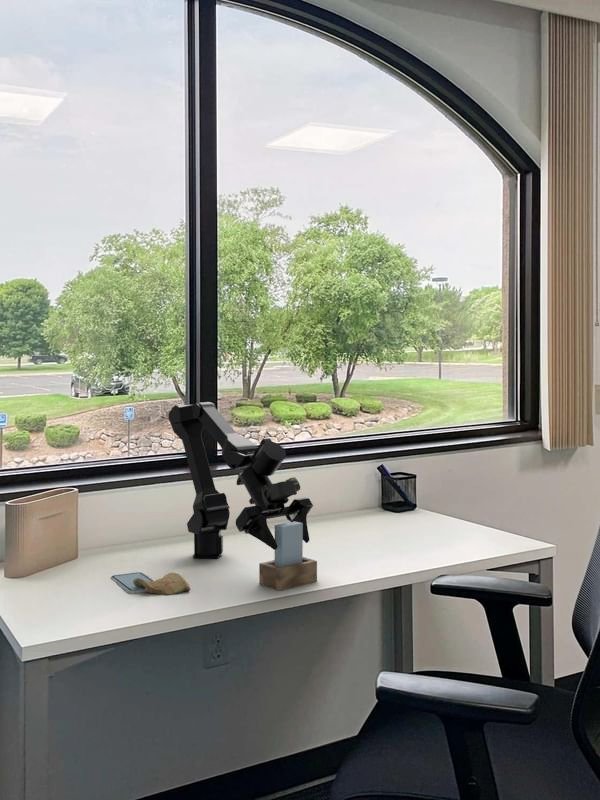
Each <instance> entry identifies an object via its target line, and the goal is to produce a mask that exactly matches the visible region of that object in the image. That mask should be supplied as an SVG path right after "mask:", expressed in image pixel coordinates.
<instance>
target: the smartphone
mask: <svg viewBox="0 0 600 800" xmlns="http://www.w3.org/2000/svg"><path fill="white" fill-rule="evenodd" d="M136 578H141V579H143V580H144V581H146V582H151V581H155V580H154V579H152V578H150V576H149V575H148V576H147V575H146V574H144V573H143V572H141V571H137V572H129V573H123V574H113V575H111V576H110V579H112V580H113V581H114V582H115V583H116V584H117V585H119V586H120V587H121V588H122V589H123V590H124V591H126V592H127V594H130V595H133V594H134V595H135V594H142V593H147V592H148V591H147V590H146V589H145V587H137V586H135V585H134V583H133V581H134V580H135V579H136ZM148 593H149V592H148Z"/></svg>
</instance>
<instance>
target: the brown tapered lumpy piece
mask: <svg viewBox="0 0 600 800" xmlns="http://www.w3.org/2000/svg"><path fill="white" fill-rule="evenodd" d="M133 583H134V585H135V586H137V587H145V589H146V590H147V591H148V593H150V594H157V595H161V596H162V595H163V596H171V595H179V594H180V593H183V592H186V591H187V592H188V591H190V590H191V587H190V584H189V582H188V581H187V580H186V579H185V578H184V577H183V576H182V575H181V574H180V573H177V572H168V573H166V574H165V575H163V576H162V577H161V578H157V579H155V580H154V581H151V582H146V581H144V580H143V579H141V578H136V579H135V580H134V581H133Z"/></svg>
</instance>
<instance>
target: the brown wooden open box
mask: <svg viewBox="0 0 600 800" xmlns="http://www.w3.org/2000/svg"><path fill="white" fill-rule="evenodd" d="M258 566H259V569H258V571H259V572H258V573H259V574H258V575H259V577H258V578H259V580H258V581H259V585H262V586H265V587H268V588H271V589H274V590H276V591H279V592H280V591H284V590H287V589H291V588H295V587H299V586H302V585H304V586H305V585H306V584H311V583H315V582H317V581H318V561H317V560H315V559H311V558H308V557H305V556H302V563H298V564H294V565H290V566H286V567H281V568H280V567H276V566H275V559H273V560H269V561H264V562H260V563H259V564H258Z"/></svg>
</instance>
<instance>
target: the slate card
mask: <svg viewBox="0 0 600 800" xmlns="http://www.w3.org/2000/svg"><path fill="white" fill-rule="evenodd" d="M274 539H275V541H276V543H277V546H278V548H277V549H276V550H274V560H275V566H276V567H280V568H281V567H286V566H290V565H294V564H298V563H302V557H304V556H303V549H304V548H303V547H304V545H303V543H304V540H303V523H300V522H296V521H294V522H291V521H290V522H289V521H288V522H285V523H279V524H274Z"/></svg>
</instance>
